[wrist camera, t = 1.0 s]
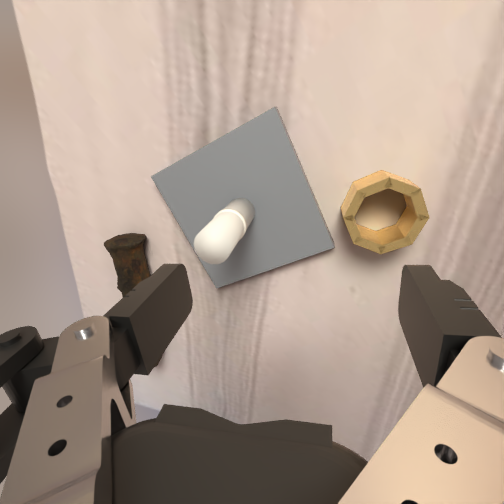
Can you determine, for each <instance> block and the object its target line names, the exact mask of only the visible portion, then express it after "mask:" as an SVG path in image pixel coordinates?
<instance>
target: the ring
mask: <svg viewBox="0 0 504 504" xmlns="http://www.w3.org/2000/svg"><path fill="white" fill-rule="evenodd" d="M388 188H389V189H392V190H395V191H397V192H400V193H403V196H404V199H405V202H406V205H407V207H406V208H405V210H404V212H403V213H402V215H401V217H400V218H399V220H398V222H397V223H396V224H395V225H392V226H389V227H386V228H383V229H381V230H378V231H374V230H371V229H368V228H366V227H363V226H360V225H358V224H357V223H356V220H355V218H354V217H355V215H356V213H357V211H358V209H359V207H360V205H361V203H362V201H363V199H364V198H365V197H367V196H370V195H372V194H375V193H377V192H380V191H383V190H385V189H388ZM341 210H342V215H343V219H344V221H345V224H346V226H347V229H348V231H349V234H350V236H351V239H352V241H353V244H355V245H358V246H361V247H363V248H366V249H368V250H371V251H374V252H376V253H379V254H384V253H387V252H390V251H393V250H396V249H399V248H402V247H405V246H409V245H412V244H413V242H414V241H415V239H416V237H417V236H418V234H419V233H420V231H421V230H422V228H423V227H424V225H425V224H426V222H427V221H428V219H429V215H428V211H427V208H426V205H425V201H424V198H423V195H422V192H421V189H420V188H419V187H418V186H416V185H415V184H414V183H412V182H411V181H410V180H408V179H405V178H402V177H399V176H397V175H394V174H391V173H389V172H386V171H383V170H380V171H378V172H375V173H373V174H371V175H368V176H366V177H364V178H361V179H359V180H356V181H354V182H353V183H352V185H351V187H350V189H349V191H348V193H347V195H346V198H345V200H344V202H343V204H342V206H341Z"/></svg>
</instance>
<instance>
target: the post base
mask: <svg viewBox="0 0 504 504" xmlns="http://www.w3.org/2000/svg"><path fill="white" fill-rule="evenodd" d="M151 178H152V179H153V181H154V183H155V184H156V186H157V188H158V189H159V191H160V193H161V195H162V196H163V198H164V200H165V201H166V203H167V205H168V207H169V208H170V210H171V212H172V213H173V215H174V217H175V218H176V220H177V222H178V224H179V225H180V227H181V229H182V230H183V232H184V234H185V236H186V237H187V239H188V241H189V242H190V244H191V246H192V247H193V249H194V251H195V253H196V254H197V256H198V258H199V259H200V261H201V263H202V265H203V266H204V268H205V270H206V271H207V273H208V275H209V276H210V278H211V280H212V282H213V283H214V285H215V287H216V288H220V287H222V286H225V285H228V284H231V283H234V282H237V281H240V280H243V279H245V278H248V277H251V276H254V275H257V274H260V273H263V272H266V271H268V270H271V269H274V268H277V267H280V266H283V265H286V264H289V263H292V262H294V261H297V260H300V259H303V258H306V257H309V256H312V255H315V254H317V253H320V252H323V251H326V250H329V249H332V248H335V247H334V241H333V239H332V237H331V234H330V232H329V230H328V227H327V225H326V222H325V220H324V218H323V215H322V213H321V211H320V208H319V206H318V204H317V201H316V199H315V196H314V194H313V192H312V189H311V187H310V185H309V182H308V180H307V177H306V175H305V173H304V170H303V168H302V166H301V163H300V161H299V159H298V156H297V154H296V151H295V149H294V147H293V144H292V142H291V140H290V137H289V135H288V132H287V130H286V128H285V125H284V123H283V121H282V118H281V116H280V114H279V111H278V109H277V107H274V108H272V109H270V110H268V111H266V112H265V113H263V114H261V115H259V116H258V117H256V118H254V119H252V120H250V121H249V122H247V123H245V124H243V125H242V126H240V127H238V128H236V129H234V130H233V131H231V132H229V133H227V134H226V135H224V136H222V137H220V138H219V139H217V140H215V141H213V142H211V143H210V144H208V145H206V146H204V147H203V148H201V149H199V150H197V151H195V152H194V153H192V154H190V155H188V156H187V157H185V158H183V159H181V160H179V161H178V162H176V163H174V164H172V165H171V166H169V167H167V168H165V169H163V170H162V171H160V172H158V173H156V174H155V175H153V176H151Z"/></svg>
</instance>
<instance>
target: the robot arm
mask: <svg viewBox="0 0 504 504" xmlns="http://www.w3.org/2000/svg"><path fill="white" fill-rule="evenodd" d="M192 303H193V300H192V294H191V289H190V285H189V280H188V276H187V271H186V268H185V266H184V265H183V264H163V265H162V266H161V267H160V268H159V269H158V270H157V271H156V272H154V273H153V274H152V275H151V276H150V277H148V278H146V279H145V280H143V281H141V282H139V283H138V284H137V285H136V286H135V287H134V288H133V289H132V291H130V292H129V293H128V294H126V295H125V297H123V298H122V299H121V300H120V301H119V302H118V303H117V304H116V305H115V306H113V307H112V308H111V309H110V310H109V311H108V312H107V313H106V314H105V315H104V316H91V317H87V318H84V319H81V320H79V321H77V322H75V323H73V324H71V325H70V326H68V327H67V328H66V329H65V330H64V331H63V332H62V333H61V334H60V336H59V337H53V338H47V339H41V337H40V335H39V333H38V331H37V329H36V328H35V327H31V326H26V327H20V328H16V329H13V330H10V331H8V332H5V333H3V334H1V335H0V387H3V389H4V390H5V392H6V394H7V395H8V397H9V398H10V400H11V402H12V404H11V405H10V406H9V407H8V408H7V409H6V410H5V411H4V412H3V413H2V414H1V415H0V483H1V482H2V481H3V480H4V479H5V477H6V476H7V477H6V481H5V484H4V487H3V490H2V494H1V498H0V504H503V501H504V338H502V337H501V336H500V335H499V333H498V332H497V331H496V330H495V328H494V327H493V326H492V325H491V323H490V322H489V321H488V319H487V318H486V317H485V316H484V314H483V313H482V312H481V311H480V310H478V307H477V306H476V304H475V303H474V302H473V301H471V298H470V297H469V295H468V294H467V293H466V292H465V290H464V289H463V288H461V287H459V286H458V285H456V284H455V283H453V282H451V281H450V280H440V278H439V277H438V275H437V274H436V273H435V271H434V270H433V268H432V267H431V266H430V265H404V267H403V270H402V278H401V287H400V296H399V306H398V312H399V320H400V324H401V327H402V329H403V332H404V335H405V338H406V340H407V343H408V346H409V349H410V352H411V354H412V357H413V360H414V363H415V365H416V368H417V371H418V374H419V376H420V379H421V382H422V385H423V389H422V390H421V392H420V393H419V394H418V396H417V397H416V399H415V400H414V401H413V403H412V404H411V405H410V407H409V408H408V409H407V411H406V412H405V413H404V415H403V416H402V417H401V419H400V420H399V422H398V423H397V424H396V426H395V427H394V428H393V430H392V431H391V432H390V434H389V435H388V436H387V438H386V439H385V440H384V442H383V443H382V445H381V446H380V447H379V449H378V450H377V451H376V453H375V454H374V455H373V457H372V458H371V459H370V461H369V462H367V461H366V460H365V459H364V458H362V457H361V456H359V455H358V454H356V453H355V452H353V451H352V450H350V449H348V448H346V447H344V446H342V445H340V444H338V443H336V442H333V441H332V425H324V424H316V423H308V422H301V421H293V420H279V421H270V422H261V423H253V424H243V425H241V424H236V423H233V422H231V421H229V420H226V419H224V418H222V417H219V416H217V415H215V414H212V413H210V412H208V411H205V410H203V409H199V408H191V407H183V406H175V405H167V404H164V405H163V407H162V409H161V411H160V413H159V415H158V416H157V418H154V419H150V420H146V421H142V422H139V423H136V415H135V405H134V396H133V387H132V383H131V380H130V378H131V377H132V375H133V374H141V375H149V373H150V372H151V370H152V369H153V367H154V366H155V365H156V363H157V362H158V360H159V359H160V357H161V356H162V354H163V353H164V351H165V350H166V348H167V347H168V345H169V344H170V342H171V341H172V339H173V338H174V336H175V335H176V333H177V332H178V330H179V329H180V327H181V326H182V324H183V323H184V321H185V320H186V318H187V317H188V315H189V314H190V312H191V309H192Z"/></svg>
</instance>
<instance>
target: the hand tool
mask: <svg viewBox="0 0 504 504" xmlns="http://www.w3.org/2000/svg"><path fill="white" fill-rule="evenodd" d="M145 239H146V236H145V234H136V233H129V234H123V235H118V236H115V237H113V238H111V239H109V240H107V241H106V242H104V246H105V247H106V249H107V251H108V252H109V253H110V255H111V257H112V258H113V262H114V266H115V270H116V272H117V276H118V283H117V285H118V287H117V288H118V289H119V290H120V291H121V292H122V295H123V297H125V295H126V294H128V293H129V292H130V291H132V289H133V288H134V287H135V286H136V285H137V284H138V283H139V282H141V281H143V280H145V279H146V278H148V277H150V274H149V270H148V267H147V261H146V258H145V254H144V249H143V243H144V241H145ZM161 357H162V356H161ZM161 357H160V359H161ZM160 359H159V360H158V362H157V363H156V365H155V366H157V365H158V363H159V361H160ZM155 366H154V367H155ZM154 367H153V368H154Z"/></svg>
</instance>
